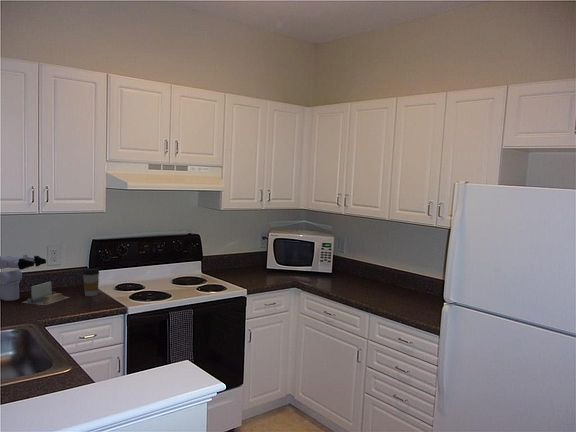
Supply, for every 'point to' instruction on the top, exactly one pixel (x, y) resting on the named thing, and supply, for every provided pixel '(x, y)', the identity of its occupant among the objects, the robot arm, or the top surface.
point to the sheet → (41, 290)
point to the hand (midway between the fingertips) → (39, 262)
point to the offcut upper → (53, 296)
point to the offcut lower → (54, 300)
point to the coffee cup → (91, 281)
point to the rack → (39, 300)
